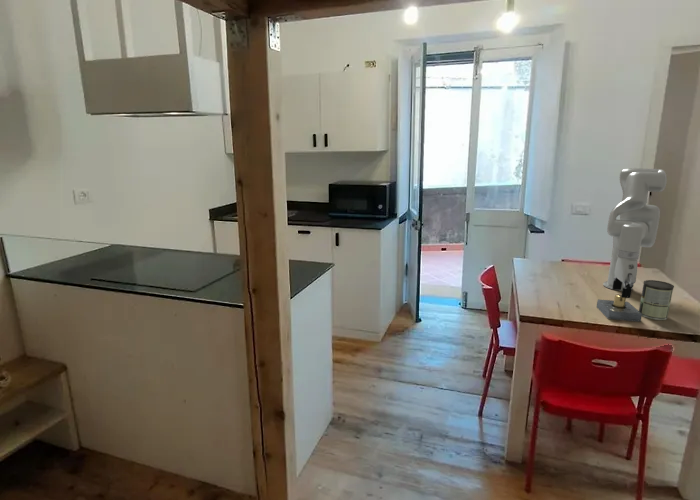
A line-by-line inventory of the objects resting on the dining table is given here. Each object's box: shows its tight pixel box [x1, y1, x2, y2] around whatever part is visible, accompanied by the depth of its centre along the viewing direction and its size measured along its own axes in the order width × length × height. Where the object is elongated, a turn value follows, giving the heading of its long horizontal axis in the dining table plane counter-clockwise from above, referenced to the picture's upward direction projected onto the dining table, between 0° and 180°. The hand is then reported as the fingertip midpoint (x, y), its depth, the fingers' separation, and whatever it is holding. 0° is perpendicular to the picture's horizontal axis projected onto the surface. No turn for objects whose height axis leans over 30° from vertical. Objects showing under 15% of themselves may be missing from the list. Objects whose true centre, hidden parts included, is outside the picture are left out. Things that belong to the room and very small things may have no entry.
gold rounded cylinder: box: [613, 294, 627, 309], centre depth 179 cm, size 4×4×8 cm
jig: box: [596, 299, 643, 323], centre depth 180 cm, size 14×12×4 cm
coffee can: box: [638, 279, 675, 321], centre depth 177 cm, size 10×10×14 cm
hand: (621, 293), depth 178 cm, fingers open, 9 cm apart
